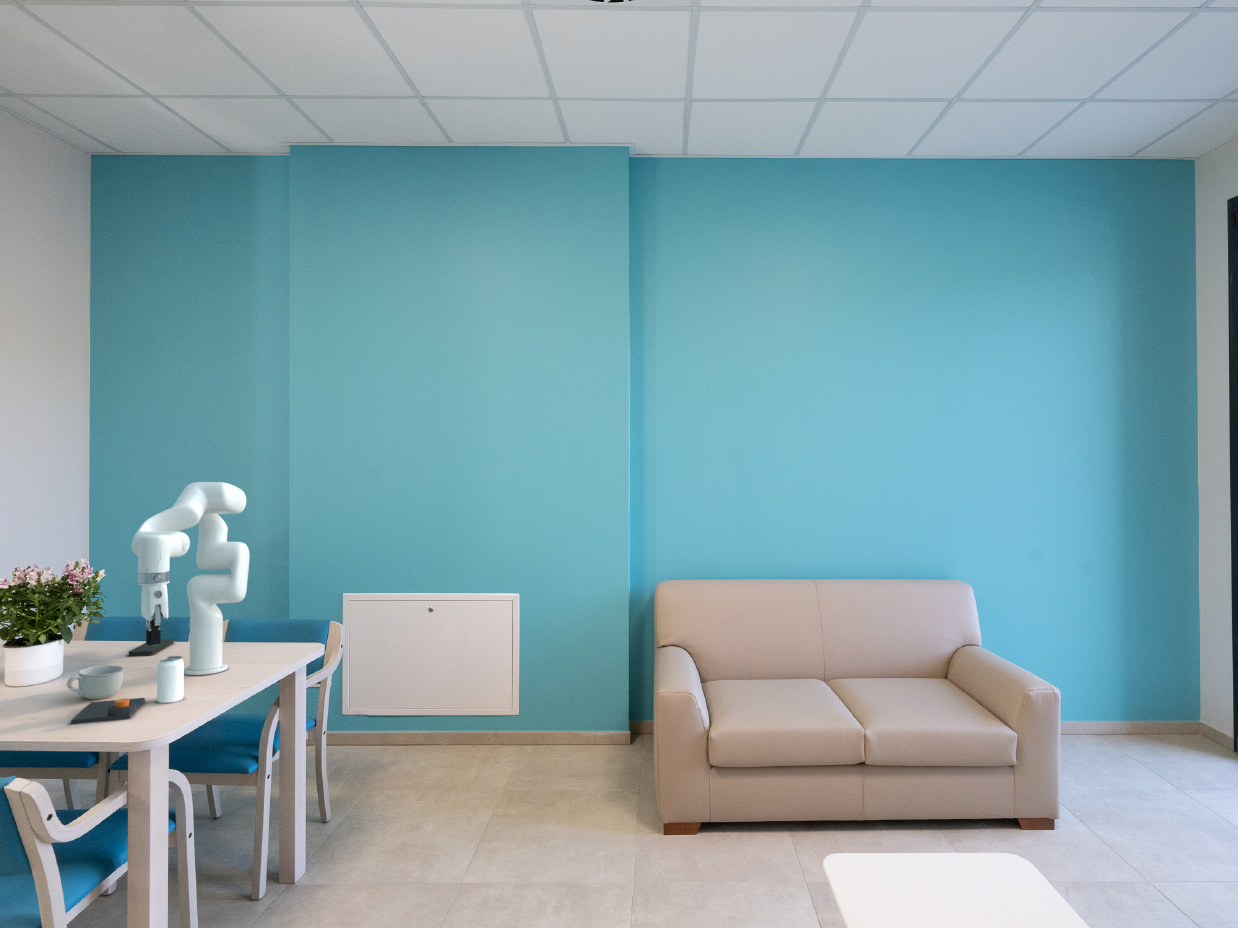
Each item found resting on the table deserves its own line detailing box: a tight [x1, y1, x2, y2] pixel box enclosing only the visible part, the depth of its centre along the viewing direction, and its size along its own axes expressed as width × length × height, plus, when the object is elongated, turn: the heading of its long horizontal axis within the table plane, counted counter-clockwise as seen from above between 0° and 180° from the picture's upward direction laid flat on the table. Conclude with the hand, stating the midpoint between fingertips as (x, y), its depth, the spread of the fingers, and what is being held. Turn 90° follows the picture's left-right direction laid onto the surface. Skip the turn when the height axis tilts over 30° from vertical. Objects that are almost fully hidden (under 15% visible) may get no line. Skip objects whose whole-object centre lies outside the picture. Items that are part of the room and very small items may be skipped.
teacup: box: [66, 664, 124, 700], centre depth 215 cm, size 14×11×8 cm
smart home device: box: [128, 638, 175, 657], centre depth 275 cm, size 8×2×20 cm
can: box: [156, 655, 185, 704], centre depth 213 cm, size 6×6×12 cm
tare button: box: [115, 698, 130, 708], centre depth 199 cm, size 3×3×2 cm
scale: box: [70, 697, 146, 725], centre depth 202 cm, size 16×14×3 cm
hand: (153, 643), depth 208 cm, fingers closed
